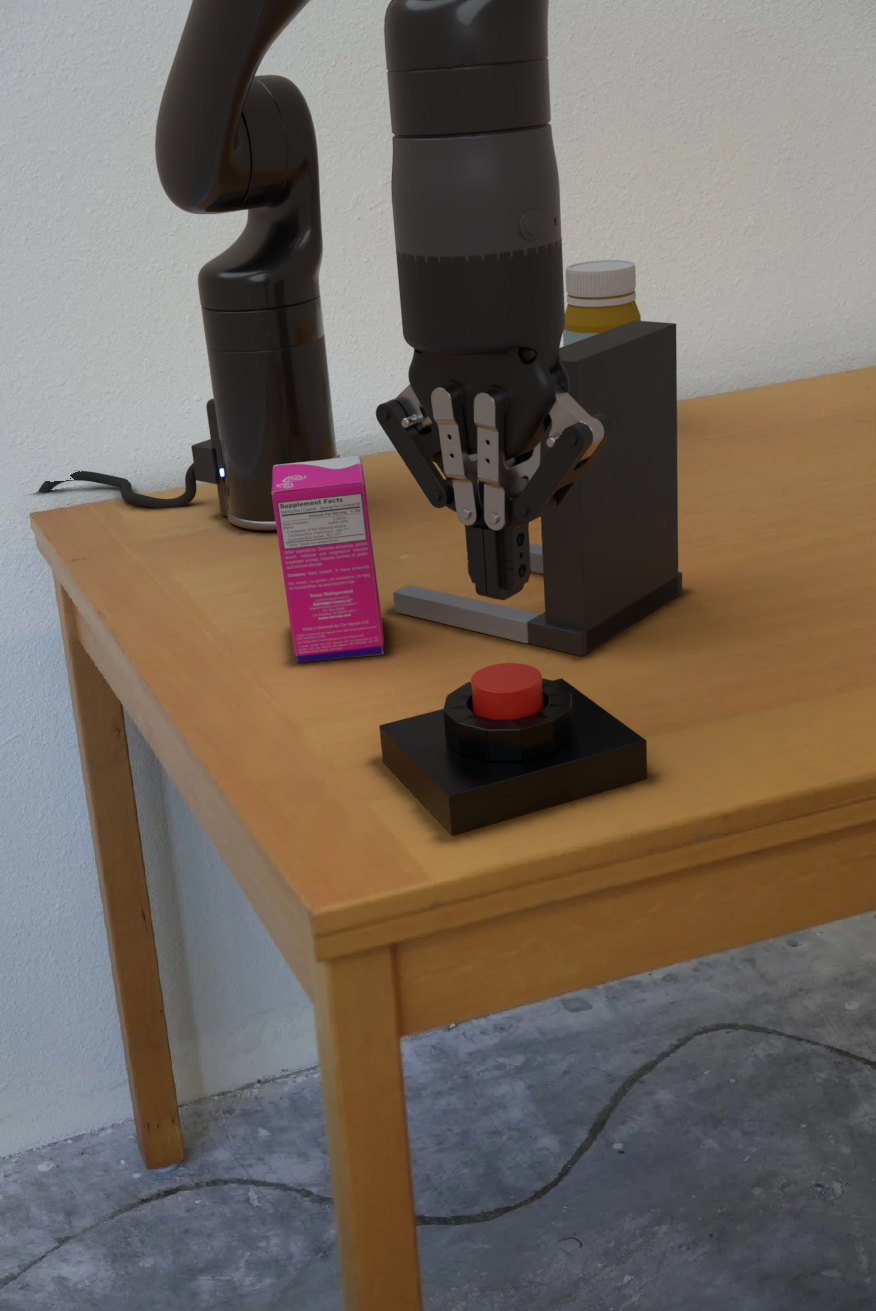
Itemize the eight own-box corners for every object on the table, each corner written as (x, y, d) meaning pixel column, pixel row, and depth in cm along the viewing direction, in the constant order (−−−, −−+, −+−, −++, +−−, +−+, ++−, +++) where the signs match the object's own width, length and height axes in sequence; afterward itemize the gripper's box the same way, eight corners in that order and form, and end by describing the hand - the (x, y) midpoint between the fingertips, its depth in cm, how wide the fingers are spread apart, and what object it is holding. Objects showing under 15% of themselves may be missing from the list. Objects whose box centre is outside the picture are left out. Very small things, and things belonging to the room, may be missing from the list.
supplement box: (292, 630, 97) (272, 461, 93) (381, 621, 98) (366, 453, 93) (291, 665, 92) (270, 488, 87) (385, 655, 92) (369, 479, 88)
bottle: (641, 419, 139) (639, 257, 133) (643, 439, 133) (640, 270, 127) (567, 422, 140) (561, 261, 134) (565, 442, 134) (559, 274, 128)
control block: (452, 835, 72) (446, 762, 70) (382, 761, 79) (375, 694, 78) (647, 778, 75) (646, 708, 74) (563, 713, 83) (560, 648, 81)
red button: (491, 729, 74) (489, 698, 73) (461, 703, 77) (459, 672, 76) (555, 712, 75) (554, 681, 74) (523, 687, 78) (521, 657, 77)
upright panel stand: (394, 612, 99) (370, 343, 92) (503, 556, 107) (488, 307, 100) (580, 657, 90) (570, 363, 83) (683, 592, 98) (681, 321, 91)
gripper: (648, 226, 65) (654, 591, 72) (418, 220, 73) (444, 550, 80) (551, 253, 60) (568, 645, 67) (315, 244, 68) (351, 595, 75)
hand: (500, 592), depth 73 cm, fingers closed
